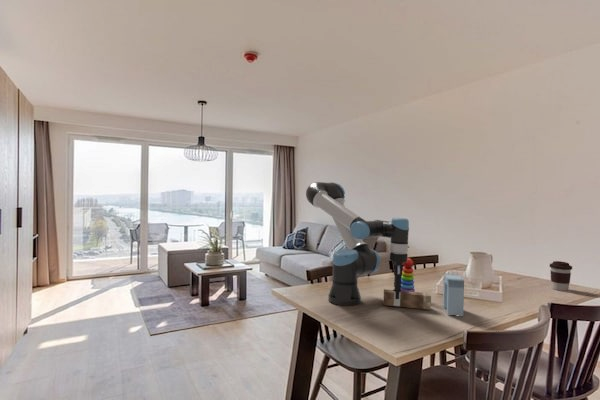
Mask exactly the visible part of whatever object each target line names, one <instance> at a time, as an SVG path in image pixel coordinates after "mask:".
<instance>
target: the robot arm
mask: <svg viewBox="0 0 600 400" xmlns="http://www.w3.org/2000/svg"><path fill="white" fill-rule="evenodd" d="M345 193H346V192H345V190H344V187H343V186H342V185H341V184H339V183H336V182H321V181H315V182H313V183H311V184H310V185H308V187H307V188H306V192H305V197H306V199H307V201H308V203H310V205H312V206H313V207H315V208H316V209H320V210H322V211H324V212H325V213H326V214H328V215H329V216H330V217H331V218H332V219H333V222H334V223H335V226H336V227H337V229H338V232H339V233H340V235H341V239H342V240H343V242H344V243H345V246H346V248H347V249H339V250H337V251H335V252H334V253H333V255H332V262H331V263H332V282H331V283H332V285H331V286H330V289H329V292H328V297H327V300H328V302H330V303H331V302H332V304H333V305H337V304H339V305H338V306H346V305H349V306H355V305H354V304H357V305H359V304H360V303H361V302H362V297H361V292H360V290H359V286H358V277H360V276H366V275H367V276H368V275H371V274H374V273H375V272H377V271H378V270H379V268H380V264H381V258H380V255H379V253H378V252H377V251H376V250H374V249H373V248H370V246H369V244H368V243H367V242H364V241H363V240H364V239H369V238H372V239H373V238H380V237H381V238H388V239H390V247H389V248H390V249H389V250H390V251H389V252H390V253H389V261H391V262H393V263H394V264H393V276H394V282H393V289H392V290H393V291H394V306H393V307H398V306H400V294H401V276H402V272H403V268H404V266H403V263H405V262H407V258H408V252H409V251H408V250H409V248H410V246H409V232H410V228H409V226H410V222H409V219H407V218H404V217H393V218H392V219H391V221H387V220H381V219H372V220H368V221H367V220H365V219H363V218H362V217H360V216H359V215H358V214H356V213H354V212H353V211H352V210H350V209H348V208H347V207H346V205H345V202H346V200H345V198H346V196H345ZM358 303H359V304H358Z"/></svg>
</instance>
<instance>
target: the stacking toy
mask: <svg viewBox="0 0 600 400" xmlns="http://www.w3.org/2000/svg"><path fill="white" fill-rule="evenodd" d="M402 265H403V270H402V276H401V291H408V292H416V290H415V285H414V284H415V281H414V280H415V277H414V272H413V271H414V269H413V267H414V261H413V260H412V258H409V257H407V262H405V263H403V262H402Z"/></svg>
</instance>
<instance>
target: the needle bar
mask: <svg viewBox="0 0 600 400" xmlns="http://www.w3.org/2000/svg"><path fill="white" fill-rule="evenodd" d="M393 290H394V289H383V303H382V304H383V305H382V306H390V307H395V306H394V291H393ZM397 307H399V308H400V307H401V308H410V309H419V310H421V309H422V310H430V311H431V308H432V295H431V293H428V292H419V291H418V292H417V291H415V292H408V291H401V294H400V306H397Z"/></svg>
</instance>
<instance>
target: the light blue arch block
mask: <svg viewBox="0 0 600 400" xmlns="http://www.w3.org/2000/svg"><path fill="white" fill-rule="evenodd" d="M442 290H443V291H442V293H443V295H442V307H443V309H446V315H447V314H448V315H459V316H463V317H464V305H465V304H464V302H465V300H464V298H465V280H464V279H463V278H462V277H461V275H459V274H458V273H457V274H456V273H455V274H454V273H443V289H442ZM448 315H447V316H448Z"/></svg>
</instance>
